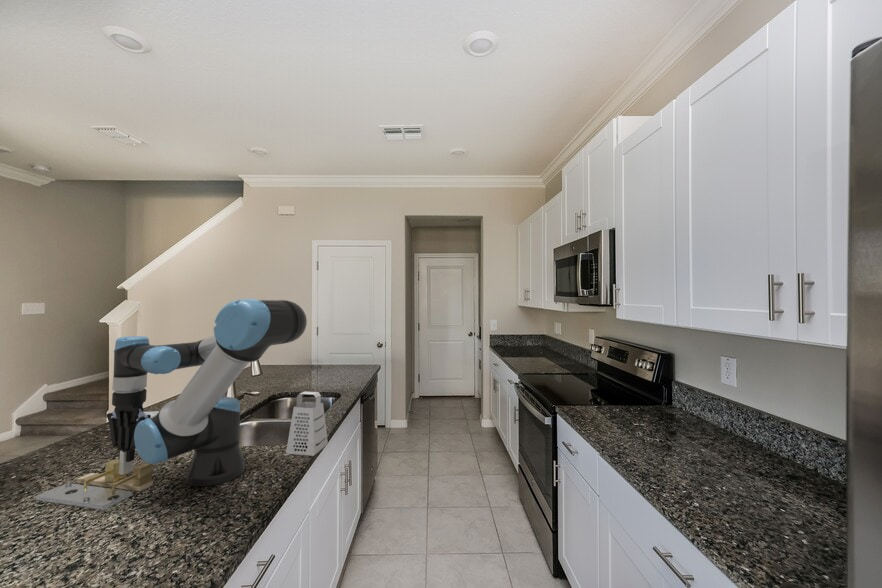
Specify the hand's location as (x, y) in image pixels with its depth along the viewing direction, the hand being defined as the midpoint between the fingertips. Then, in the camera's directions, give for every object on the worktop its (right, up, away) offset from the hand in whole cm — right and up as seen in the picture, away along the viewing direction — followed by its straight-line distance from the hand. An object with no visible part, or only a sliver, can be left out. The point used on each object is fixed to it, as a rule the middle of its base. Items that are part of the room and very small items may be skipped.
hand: (125, 472), depth 103 cm
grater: (+43, -5, +26) cm, 50 cm away
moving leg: (-3, -2, -3) cm, 5 cm away
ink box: (-17, -4, +26) cm, 31 cm away
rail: (-3, -3, -4) cm, 6 cm away
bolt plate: (-4, -3, -8) cm, 9 cm away
